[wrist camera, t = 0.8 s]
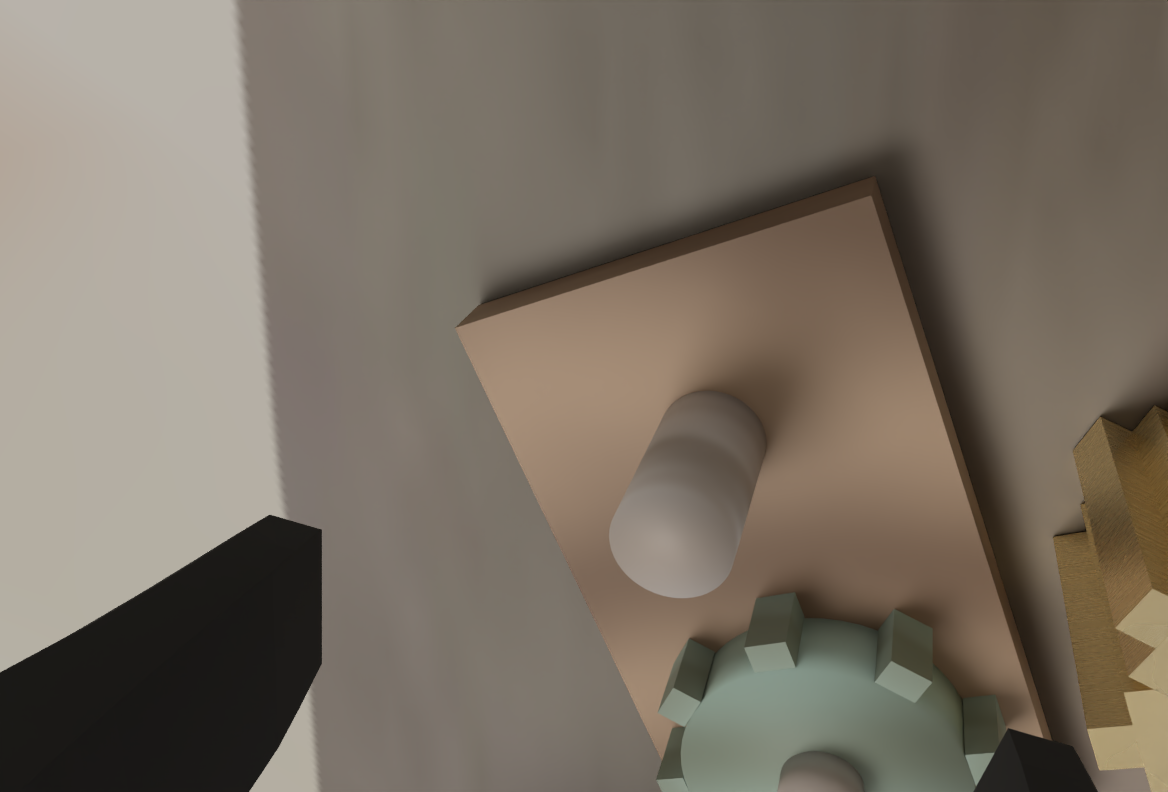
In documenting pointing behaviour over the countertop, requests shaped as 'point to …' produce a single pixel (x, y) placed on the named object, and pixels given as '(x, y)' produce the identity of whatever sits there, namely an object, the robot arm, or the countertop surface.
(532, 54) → the countertop surface
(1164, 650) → the brass gear
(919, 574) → the gear board
